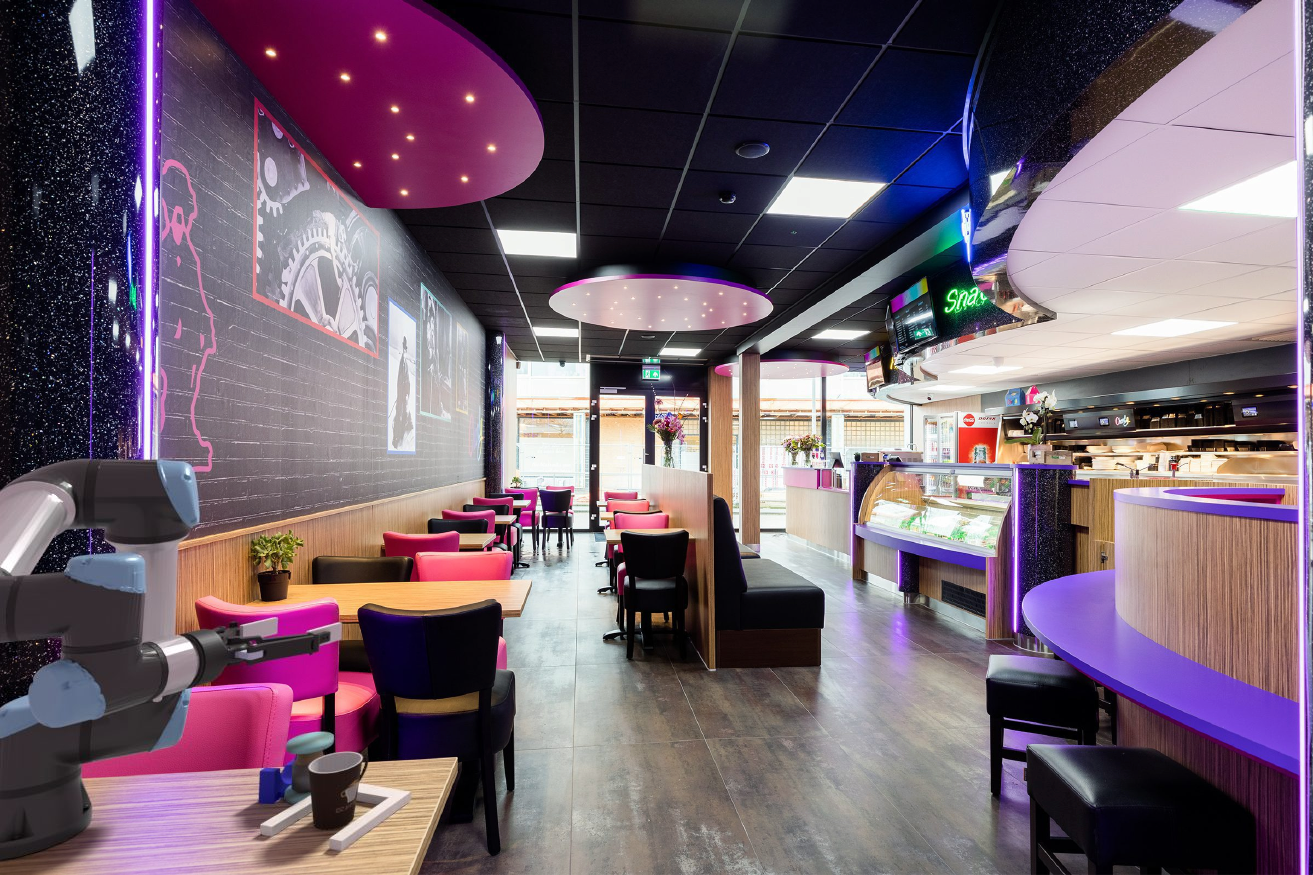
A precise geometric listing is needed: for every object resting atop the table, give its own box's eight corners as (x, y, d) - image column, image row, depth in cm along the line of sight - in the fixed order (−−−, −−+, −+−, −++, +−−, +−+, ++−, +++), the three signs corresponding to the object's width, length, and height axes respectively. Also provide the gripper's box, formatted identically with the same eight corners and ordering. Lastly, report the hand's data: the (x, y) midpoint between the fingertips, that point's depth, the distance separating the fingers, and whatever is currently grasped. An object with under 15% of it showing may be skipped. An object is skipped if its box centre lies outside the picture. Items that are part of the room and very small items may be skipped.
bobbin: (274, 800, 118) (276, 745, 119) (308, 781, 126) (310, 729, 127) (308, 806, 116) (310, 750, 117) (341, 786, 124) (343, 734, 124)
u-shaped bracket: (260, 834, 107) (260, 824, 107) (337, 787, 123) (337, 779, 123) (341, 850, 102) (341, 840, 102) (410, 800, 118) (411, 791, 118)
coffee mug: (317, 839, 105) (320, 778, 106) (298, 821, 111) (300, 762, 112) (385, 812, 114) (387, 755, 115) (364, 796, 120) (366, 742, 120)
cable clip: (293, 774, 129) (294, 744, 130) (314, 775, 129) (315, 744, 129) (250, 803, 117) (252, 770, 118) (273, 804, 117) (274, 771, 117)
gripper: (114, 681, 90) (249, 645, 110) (249, 699, 83) (367, 656, 103) (117, 628, 90) (251, 601, 111) (252, 640, 83) (368, 609, 103)
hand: (307, 627), depth 107 cm, fingers open, 13 cm apart
